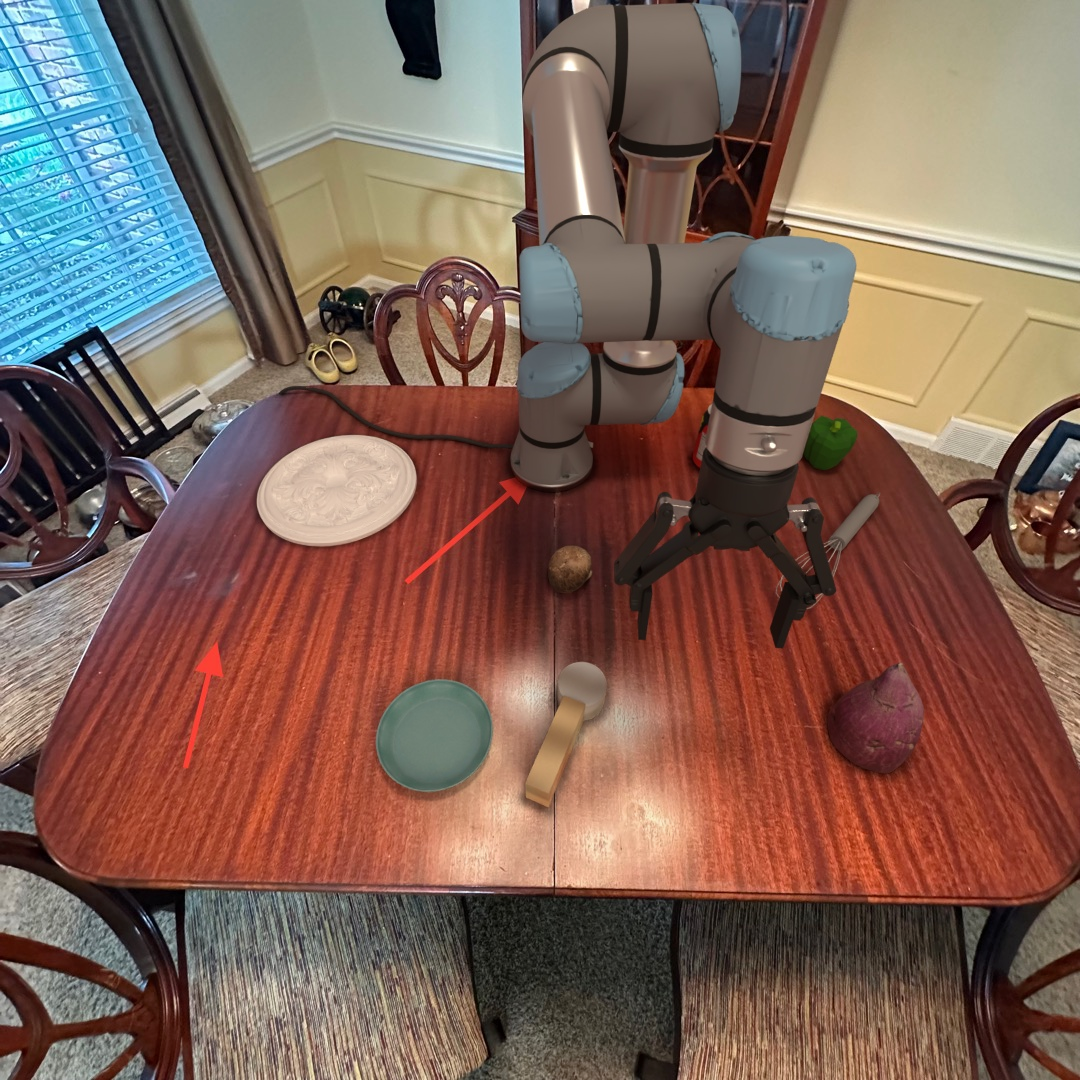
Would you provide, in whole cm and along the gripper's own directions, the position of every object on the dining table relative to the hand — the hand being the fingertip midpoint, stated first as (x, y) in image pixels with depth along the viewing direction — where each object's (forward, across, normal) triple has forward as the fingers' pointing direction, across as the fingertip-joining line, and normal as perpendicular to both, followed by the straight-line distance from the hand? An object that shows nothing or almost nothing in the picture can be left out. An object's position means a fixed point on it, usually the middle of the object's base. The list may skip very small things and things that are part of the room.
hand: (708, 634), depth 62 cm
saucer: (+23, -31, 0) cm, 38 cm away
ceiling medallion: (+14, -58, +44) cm, 74 cm away
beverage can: (+13, +9, +56) cm, 59 cm away
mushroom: (+18, -15, +27) cm, 36 cm away
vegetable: (+23, +25, +6) cm, 34 cm away
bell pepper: (+13, +30, +59) cm, 67 cm away
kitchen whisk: (+17, +27, +36) cm, 48 cm away
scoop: (+23, -14, +2) cm, 27 cm away
